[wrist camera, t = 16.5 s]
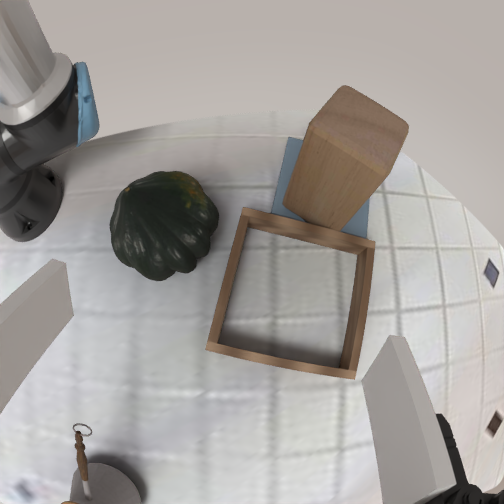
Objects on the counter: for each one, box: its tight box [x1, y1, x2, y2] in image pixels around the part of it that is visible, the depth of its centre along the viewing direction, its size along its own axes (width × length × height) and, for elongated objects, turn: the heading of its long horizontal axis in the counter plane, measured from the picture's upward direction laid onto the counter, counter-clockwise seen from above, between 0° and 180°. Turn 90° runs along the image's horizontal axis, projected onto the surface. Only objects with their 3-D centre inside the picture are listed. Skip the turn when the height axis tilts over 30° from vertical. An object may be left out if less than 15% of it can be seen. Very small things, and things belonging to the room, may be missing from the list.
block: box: [282, 86, 409, 232], centre depth 39 cm, size 10×10×20 cm
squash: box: [110, 171, 219, 281], centre depth 40 cm, size 14×15×15 cm
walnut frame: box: [205, 207, 375, 380], centre depth 42 cm, size 20×20×4 cm
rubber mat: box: [271, 137, 369, 239], centre depth 50 cm, size 16×16×1 cm
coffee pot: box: [61, 424, 141, 504], centre depth 27 cm, size 21×12×15 cm, turn 168°
